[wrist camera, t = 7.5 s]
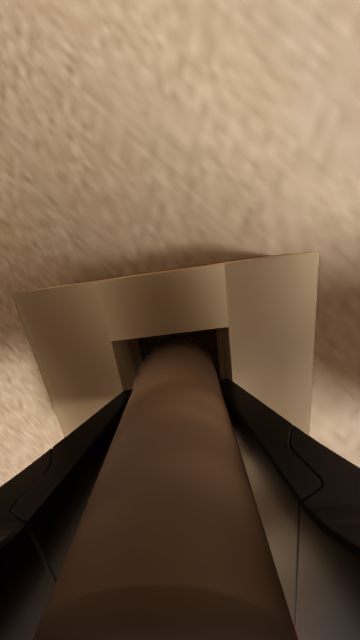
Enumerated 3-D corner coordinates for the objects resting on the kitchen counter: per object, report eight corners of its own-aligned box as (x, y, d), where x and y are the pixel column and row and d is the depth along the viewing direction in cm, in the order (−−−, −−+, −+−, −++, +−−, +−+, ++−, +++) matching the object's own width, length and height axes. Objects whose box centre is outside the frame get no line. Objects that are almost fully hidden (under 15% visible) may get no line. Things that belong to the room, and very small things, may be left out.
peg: (209, 331, 10) (307, 576, 2) (215, 393, 11) (298, 716, 3) (138, 339, 10) (-12, 593, 2) (151, 400, 11) (74, 721, 3)
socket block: (272, 255, 11) (319, 251, 7) (273, 404, 14) (308, 457, 10) (67, 284, 12) (11, 294, 8) (107, 421, 14) (79, 478, 11)
